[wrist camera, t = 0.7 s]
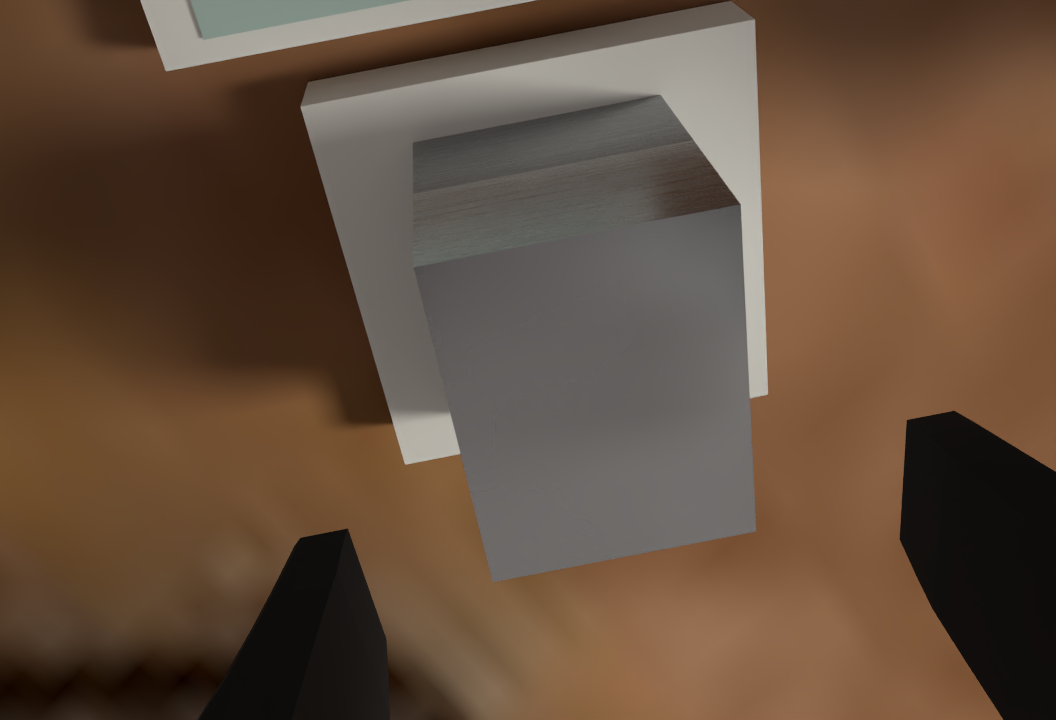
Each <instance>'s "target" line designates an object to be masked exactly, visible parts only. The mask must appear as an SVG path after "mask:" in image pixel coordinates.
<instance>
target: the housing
mask: <svg viewBox="0 0 1056 720" xmlns="http://www.w3.org/2000/svg"><path fill="white" fill-rule="evenodd" d="M413 253H414V271H415V275H416V279H417V283H418V287H419V291H420V295H421V299H422V303H423V307H424V311H425V315H426V319H427V323H428V326H429V330H430V334H431V338H432V342H433V346H434V350H435V354H436V358H437V362H438V366H439V370H440V374H441V378H442V382H443V386H444V390H445V394H446V398H447V402H448V406H449V410H450V414H451V418H452V422H453V426H454V430H455V434H456V438H457V442H458V446H459V450H460V454H461V457H462V461H463V465H464V469H465V473H466V477H467V481H468V485H469V489H470V493H471V497H472V501H473V505H474V509H475V513H476V517H477V521H478V525H479V529H480V533H481V537H482V541H483V545H484V549H485V553H486V557H487V561H488V565H489V569H490V573H491V577H492V581H493V582H496V581H501V580H506V579H511V578H516V577H522V576H527V575H532V574H537V573H542V572H548V571H553V570H558V569H563V568H568V567H574V566H579V565H584V564H589V563H594V562H599V561H605V560H610V559H615V558H620V557H625V556H631V555H636V554H641V553H646V552H651V551H657V550H662V549H667V548H672V547H677V546H682V545H688V544H693V543H698V542H703V541H708V540H714V539H719V538H724V537H729V536H734V535H739V534H745V533H750V532H755V531H756V520H755V498H754V477H753V456H752V434H751V413H750V392H749V370H748V349H747V328H746V306H745V285H744V264H743V242H742V221H741V204H740V203H739V201H738V200H737V199H736V197H735V196H734V194H733V193H732V192H731V190H730V189H729V188H728V186H727V185H726V184H725V182H724V181H723V179H722V178H721V177H720V175H719V174H718V173H717V171H716V170H715V169H714V167H713V166H712V164H711V163H710V162H709V160H708V159H707V158H706V156H705V155H704V154H703V152H702V151H701V149H700V148H699V147H698V145H697V144H696V143H695V141H694V140H693V138H692V137H691V136H690V134H689V133H688V132H687V130H686V129H685V128H684V126H683V125H682V123H681V122H680V121H679V119H678V118H677V117H676V115H675V114H674V113H673V111H672V110H671V108H670V107H669V106H668V104H667V103H666V102H665V100H664V99H663V97H662V96H661V95H657V96H652V97H647V98H642V99H637V100H631V101H626V102H621V103H616V104H610V105H605V106H600V107H595V108H590V109H584V110H579V111H574V112H569V113H564V114H558V115H553V116H548V117H543V118H538V119H532V120H527V121H522V122H517V123H512V124H506V125H501V126H496V127H491V128H486V129H480V130H475V131H470V132H465V133H460V134H454V135H449V136H444V137H439V138H434V139H428V140H423V141H418V142H413Z"/></svg>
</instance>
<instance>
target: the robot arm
mask: <svg viewBox="0 0 1056 720" xmlns="http://www.w3.org/2000/svg"><path fill="white" fill-rule="evenodd" d="M900 541H901V543H902V545H903V547H904V550H905V552H906V554H907V556H908V558H909V561H910V563H911V565H912V567H913V569H914V572H915V574H916V576H917V578H918V580H919V582H920V584H921V586H922V588H923V590H924V592H925V594H926V596H927V598H928V600H929V603H930V605H931V607H932V609H933V610H934V612H935V613H936V615H937V617H938V618H939V620H940V622H941V623H942V625H943V626H944V628H945V630H946V631H947V633H948V634H949V636H950V637H951V639H952V641H953V642H954V644H955V645H956V647H957V648H958V650H959V652H960V653H961V655H962V656H963V658H964V659H965V661H966V663H967V664H968V666H969V667H970V669H971V670H972V672H973V673H974V675H975V676H976V678H977V679H978V681H979V683H980V684H981V686H982V687H983V689H984V690H985V692H986V693H987V695H988V696H989V698H990V700H991V701H992V703H993V704H994V706H995V707H996V709H997V710H998V712H999V713H1000V715H1001V717H1002V718H1003V720H1056V472H1055V471H1053V470H1052V469H1050V468H1048V467H1047V466H1045V465H1043V464H1042V463H1040V462H1039V461H1037V460H1035V459H1034V458H1032V457H1030V456H1029V455H1027V454H1025V453H1024V452H1022V451H1020V450H1019V449H1017V448H1016V447H1014V446H1012V445H1011V444H1009V443H1007V442H1006V441H1004V440H1002V439H1001V438H999V437H998V436H996V435H994V434H993V433H991V432H989V431H988V430H986V429H984V428H983V427H981V426H979V425H978V424H976V423H974V422H973V421H971V420H969V419H968V418H966V417H964V416H962V415H961V414H959V413H957V412H955V411H951V412H946V413H941V414H936V415H931V416H926V417H920V418H915V419H910V420H907V427H906V443H905V460H904V477H903V493H902V510H901V527H900ZM198 720H390V704H389V679H388V661H387V643H386V637H385V634H384V631H383V628H382V625H381V623H380V620H379V617H378V614H377V611H376V608H375V605H374V603H373V600H372V597H371V594H370V591H369V588H368V585H367V583H366V580H365V577H364V574H363V571H362V568H361V565H360V562H359V560H358V557H357V554H356V551H355V548H354V545H353V542H352V540H351V537H350V534H349V531H348V529H344V530H339V531H334V532H328V533H323V534H318V535H313V536H308V537H303V538H300V539H299V541H298V542H297V543H296V545H295V546H294V548H293V550H292V552H291V554H290V556H289V558H288V560H287V562H286V564H285V566H284V568H283V570H282V572H281V574H280V576H279V578H278V580H277V582H276V584H275V586H274V588H273V590H272V592H271V594H270V595H269V597H268V599H267V601H266V603H265V605H264V607H263V609H262V611H261V613H260V614H259V616H258V618H257V620H256V622H255V624H254V626H253V627H252V629H251V631H250V633H249V635H248V636H247V638H246V640H245V642H244V643H243V645H242V647H241V649H240V650H239V652H238V654H237V656H236V657H235V659H234V661H233V663H232V664H231V666H230V668H229V670H228V671H227V673H226V675H225V677H224V678H223V680H222V682H221V683H220V685H219V687H218V688H217V690H216V691H215V693H214V695H213V696H212V698H211V699H210V701H209V702H208V704H207V706H206V707H205V709H204V710H203V712H202V713H201V715H200V717H199V718H198Z"/></svg>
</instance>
